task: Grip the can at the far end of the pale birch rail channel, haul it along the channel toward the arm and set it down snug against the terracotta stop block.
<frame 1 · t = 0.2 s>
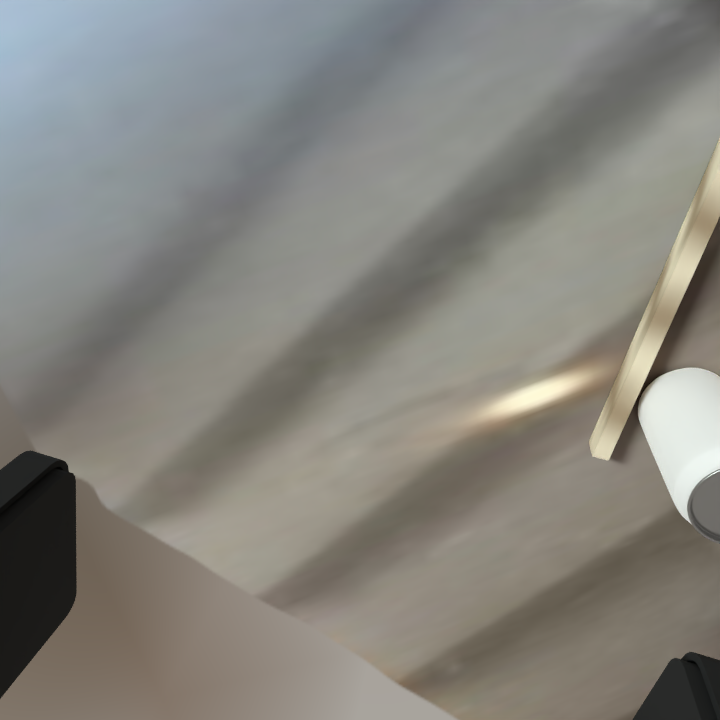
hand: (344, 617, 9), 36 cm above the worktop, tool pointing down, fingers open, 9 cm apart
can: (682, 403, 45), on the worktop
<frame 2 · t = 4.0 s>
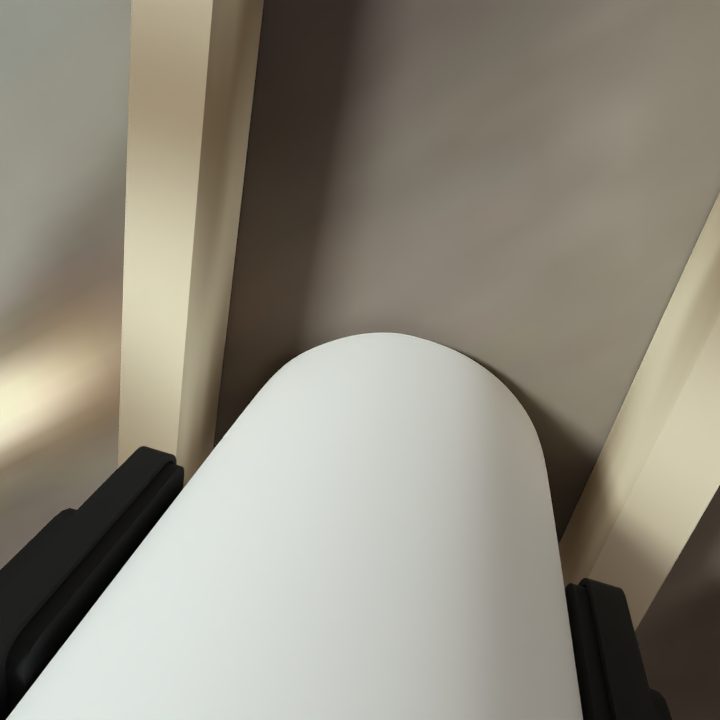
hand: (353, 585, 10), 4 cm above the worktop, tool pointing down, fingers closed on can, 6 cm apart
rail channel: (481, 126, 10), on the worktop
can: (392, 458, 13), on the worktop, touching gripper
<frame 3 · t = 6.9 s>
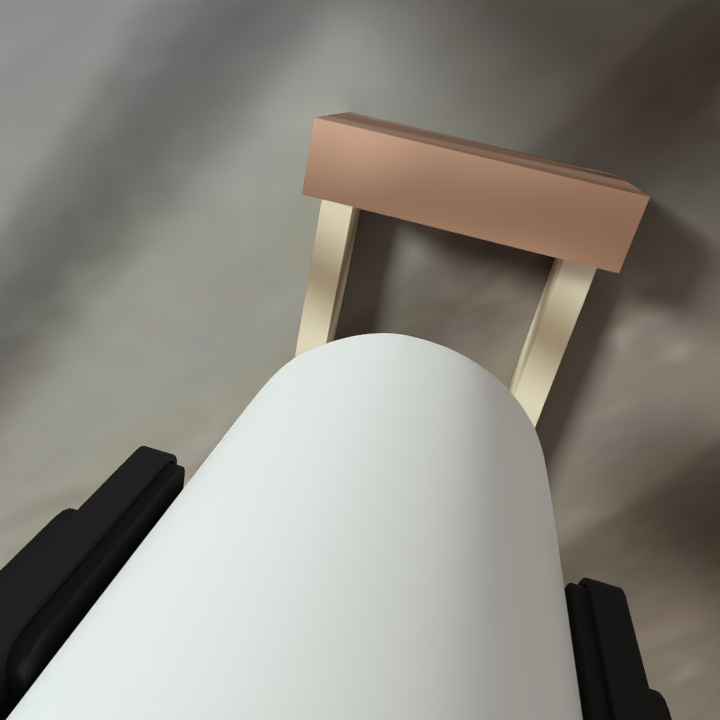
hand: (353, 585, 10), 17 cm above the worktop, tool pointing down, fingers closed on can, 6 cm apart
rail channel: (407, 411, 28), on the worktop
can: (392, 458, 13), point 13 cm above the worktop, touching gripper
when the fingers open (5 cm above the worktop, at t = 10.0 s): can drops 1 cm, on the worktop.
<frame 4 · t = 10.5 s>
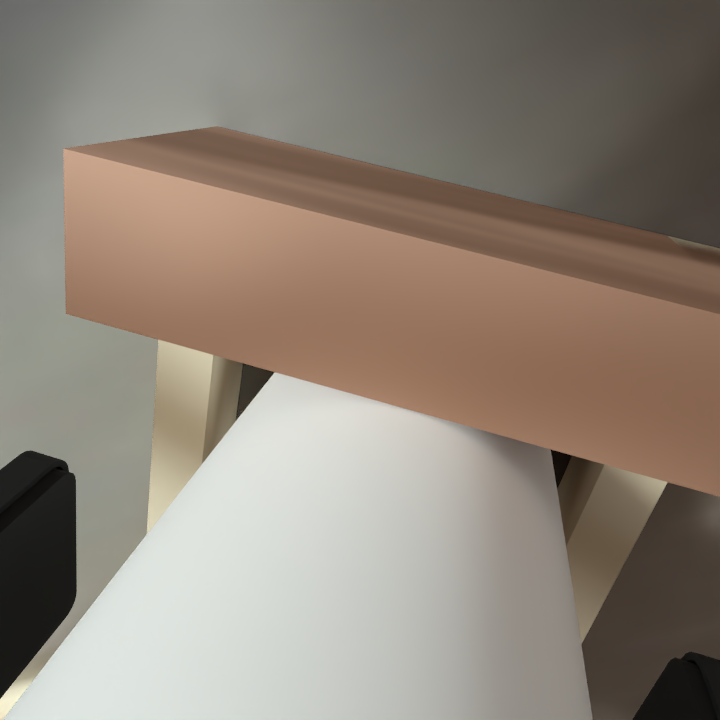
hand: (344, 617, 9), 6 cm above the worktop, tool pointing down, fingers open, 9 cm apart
rail channel: (348, 609, 17), on the worktop
can: (405, 422, 15), on the worktop
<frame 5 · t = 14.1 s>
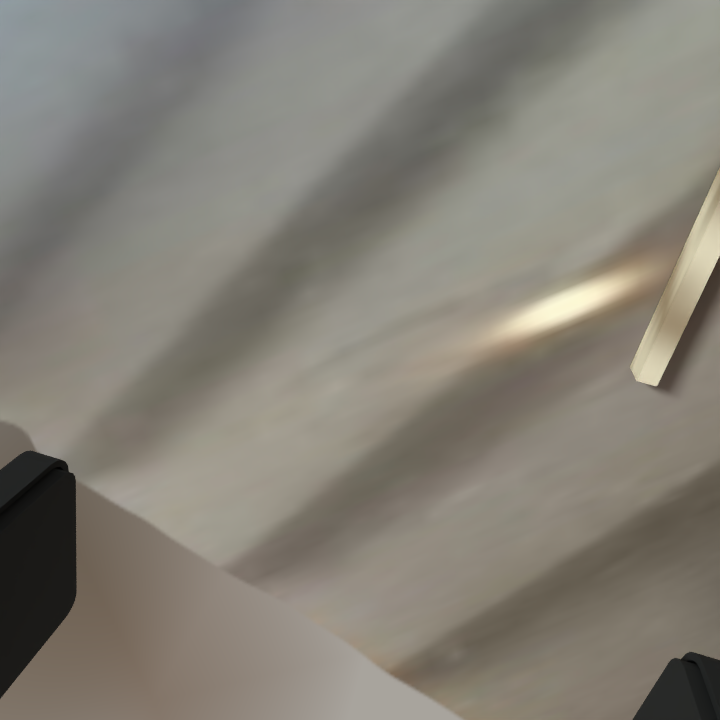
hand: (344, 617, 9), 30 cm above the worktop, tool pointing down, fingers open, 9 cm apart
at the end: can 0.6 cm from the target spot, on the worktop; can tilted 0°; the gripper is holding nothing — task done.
